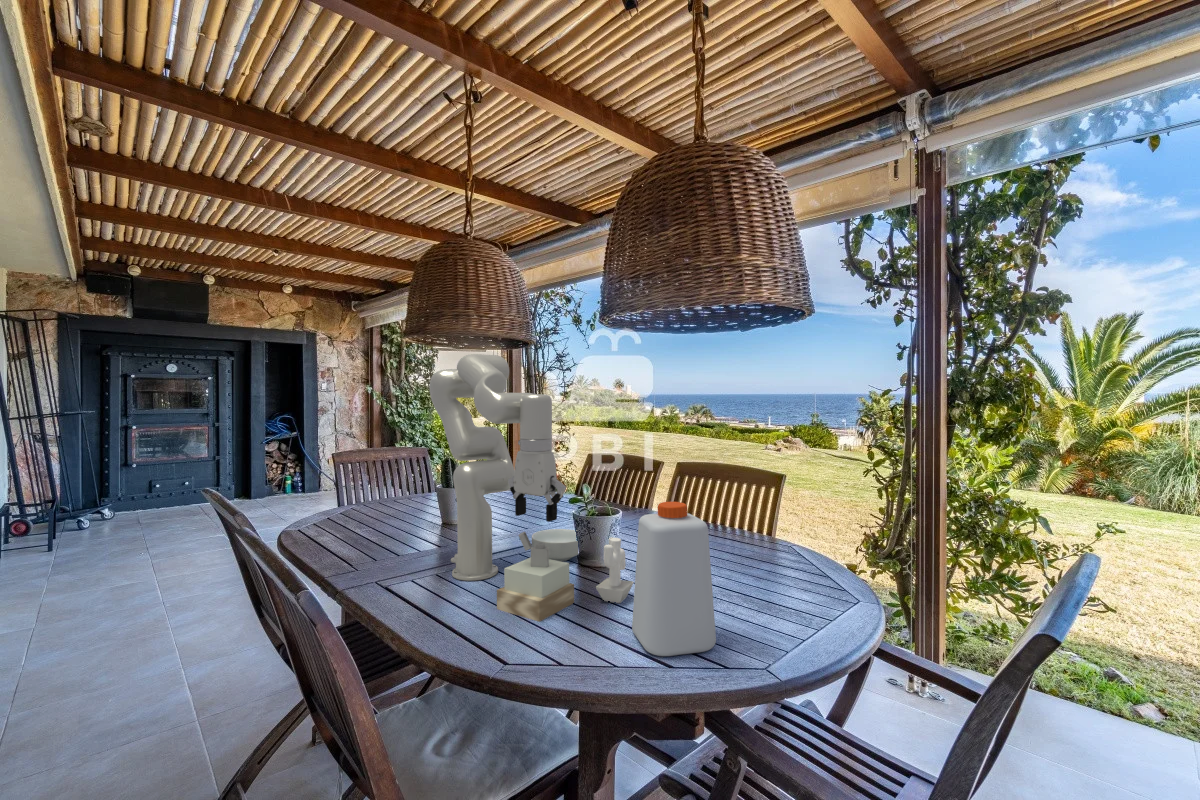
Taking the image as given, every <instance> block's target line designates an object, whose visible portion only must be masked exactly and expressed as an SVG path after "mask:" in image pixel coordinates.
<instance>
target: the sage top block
mask: <svg viewBox="0 0 1200 800" xmlns="http://www.w3.org/2000/svg"><path fill="white" fill-rule="evenodd" d="M503 571H504V572H503V574H504V578H503V579H504V581H503V582H504V587H505V590H508V591H513V592H517V593H521V594H526V595H530V596H534V597H539V598H544V597H545V596H547V595H549V594H551V593H553V592H555V591H557V590H558V589H560V588H562V587H564V586H566V585H568V584H569V583H570V562H567V561H556V560H550V559H549V566H548V567H531V556H530V557H528V558H526V559H524V560H521V561H518V562H516V563H514V564H512V565H510V566H507V567H504V570H503Z"/></svg>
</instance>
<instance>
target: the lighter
mask: <svg viewBox="0 0 1200 800" xmlns="http://www.w3.org/2000/svg"><path fill="white" fill-rule="evenodd" d="M518 537H519V540H520V542H521V544H522V547H523V548H524V551H525V552H526V551H529V550H530V557H531V567H548V566H549V547H546V546H545V545H544V544H541V543H536V544H535V545H536V547H532V542H531V540H530V539H529V536H528V535H527V532H526V531H522V532H520V533H519V534H518Z"/></svg>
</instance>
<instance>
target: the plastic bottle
mask: <svg viewBox="0 0 1200 800" xmlns="http://www.w3.org/2000/svg"><path fill="white" fill-rule="evenodd" d="M710 552H711V551H710V539H709V527H708V525H707V523H706V522H705V521H703V520H702V519H701V518H699V517H697V516H695V515H693V514H691V513H688V506H687V504H686V503H684V502H680V501H663V502H660V503H658V505H657V513H649V514H643V515H642V516H641V517H640V518H639V520H638V529H637V545H636V560H635V561H636V562H635V575H634V576H635V577H634V578H635V579H634V590H633V592H634V594H633V607H632V621H631V628H632V632H633V634H634V636H635V637H636V638H637V640H638V641H639V643H640V644H641V645H642V647H643V648H644V650H645V651H646V652H647V653H650V654H651V655H653V656H657V657H672V656H680V655H687V654H688V655H689V654H690V655H691V654H696V653H704V652H707V651H710V650H711V649H713V648H714V647H715V645H716V642H717V637H716V635H717V634H716V622H715V621H716V619H715V610H714V607H715V606H714V593H713V581H712V566H711V553H710Z"/></svg>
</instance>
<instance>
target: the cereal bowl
mask: <svg viewBox="0 0 1200 800" xmlns="http://www.w3.org/2000/svg"><path fill="white" fill-rule="evenodd" d="M536 543H541V544H544V545H545V546H546V547H549V559H550V560H556V561H561V562H567V561H568V560H570V559H572V558H574V557H576V556H578V555H579V554H578V541H576V532H575V529H568V528H553V529H552V528H551V529H550V528H549V529H544V530H543V529H542V530H538V531H536V532H534V533H532V535H531V545H532V547H536V545H535V544H536Z"/></svg>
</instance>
